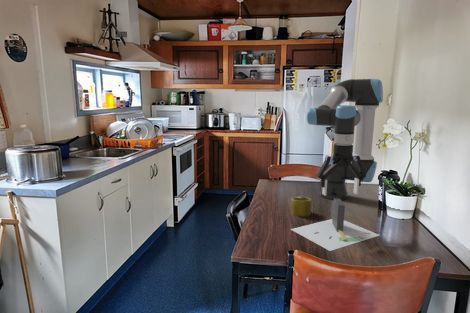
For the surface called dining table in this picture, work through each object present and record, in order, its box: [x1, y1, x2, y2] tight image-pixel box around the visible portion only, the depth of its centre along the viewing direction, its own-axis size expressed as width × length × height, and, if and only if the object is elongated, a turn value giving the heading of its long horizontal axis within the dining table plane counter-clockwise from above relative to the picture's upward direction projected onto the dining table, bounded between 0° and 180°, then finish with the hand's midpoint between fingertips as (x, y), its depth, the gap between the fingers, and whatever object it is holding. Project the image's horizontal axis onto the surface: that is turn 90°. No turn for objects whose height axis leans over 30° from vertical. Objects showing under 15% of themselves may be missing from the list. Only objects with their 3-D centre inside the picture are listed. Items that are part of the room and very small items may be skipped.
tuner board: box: [290, 218, 381, 252], centre depth 133 cm, size 28×22×1 cm
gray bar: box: [331, 198, 347, 240], centre depth 133 cm, size 18×3×11 cm, turn 174°
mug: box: [290, 196, 312, 217], centre depth 155 cm, size 12×10×10 cm
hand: (340, 194), depth 136 cm, fingers open, 13 cm apart
